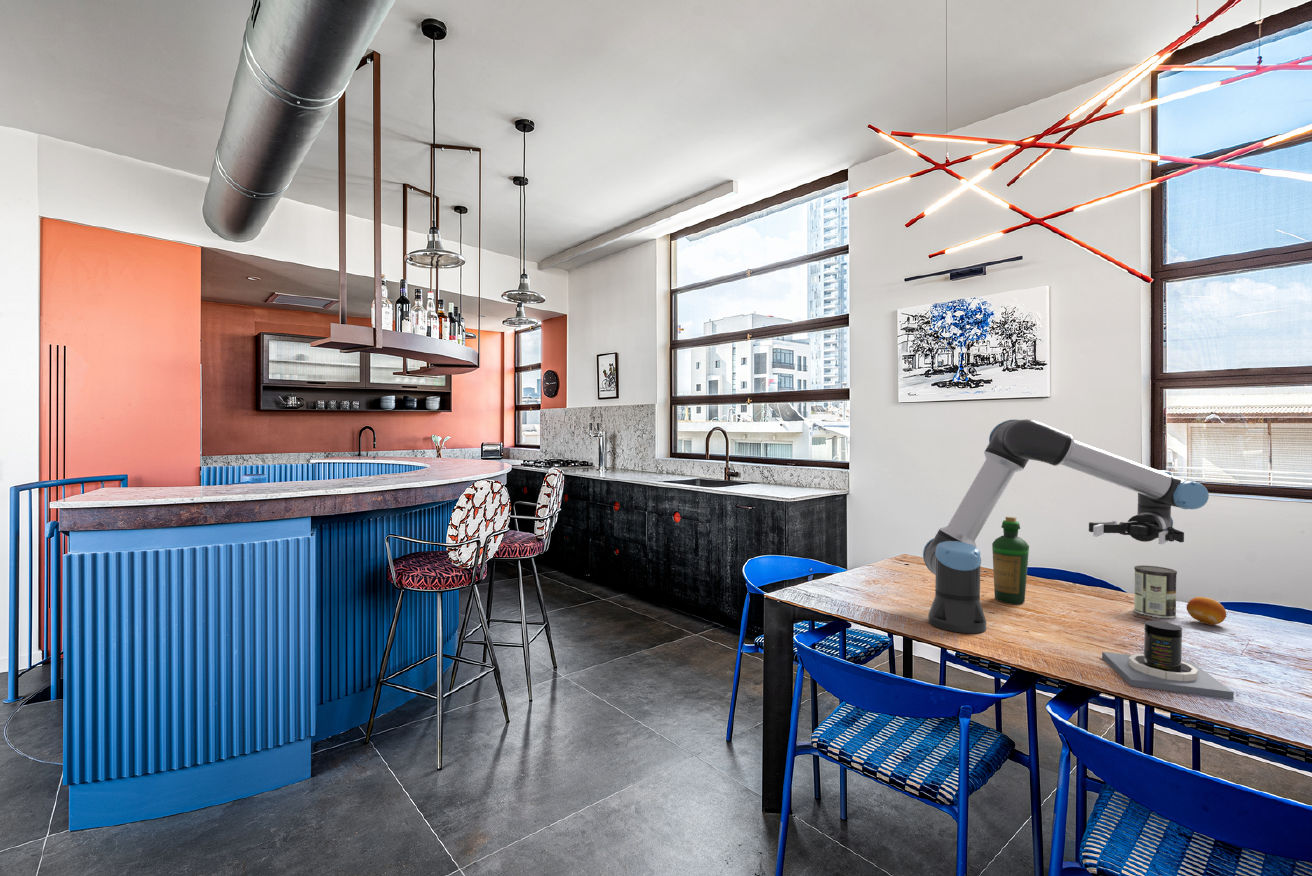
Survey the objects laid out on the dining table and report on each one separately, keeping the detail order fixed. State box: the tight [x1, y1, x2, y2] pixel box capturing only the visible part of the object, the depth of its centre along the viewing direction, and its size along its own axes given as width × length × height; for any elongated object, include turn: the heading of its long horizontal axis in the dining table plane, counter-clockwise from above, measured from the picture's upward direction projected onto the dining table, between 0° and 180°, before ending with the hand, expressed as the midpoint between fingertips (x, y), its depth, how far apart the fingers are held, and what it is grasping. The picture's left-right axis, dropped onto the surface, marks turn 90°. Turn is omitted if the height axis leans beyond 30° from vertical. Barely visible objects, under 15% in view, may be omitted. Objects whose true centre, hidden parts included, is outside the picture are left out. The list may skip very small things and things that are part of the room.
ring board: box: [1101, 651, 1235, 700], centre depth 140 cm, size 18×18×3 cm
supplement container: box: [1143, 620, 1183, 673], centre depth 140 cm, size 7×7×10 cm
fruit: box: [1186, 596, 1227, 626], centre depth 179 cm, size 8×8×8 cm
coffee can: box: [1133, 565, 1178, 619], centre depth 188 cm, size 10×10×14 cm
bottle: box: [991, 516, 1030, 605], centre depth 201 cm, size 11×11×28 cm
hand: (1126, 535), depth 156 cm, fingers open, 13 cm apart
